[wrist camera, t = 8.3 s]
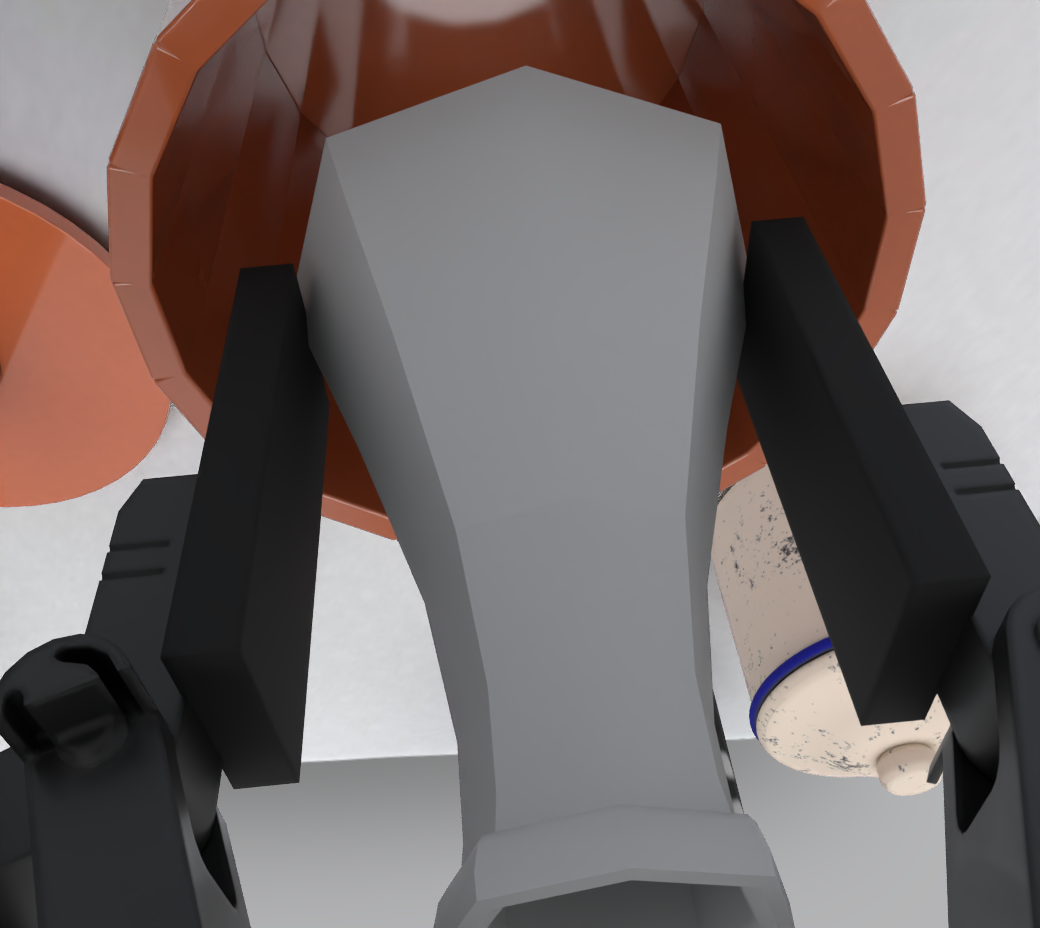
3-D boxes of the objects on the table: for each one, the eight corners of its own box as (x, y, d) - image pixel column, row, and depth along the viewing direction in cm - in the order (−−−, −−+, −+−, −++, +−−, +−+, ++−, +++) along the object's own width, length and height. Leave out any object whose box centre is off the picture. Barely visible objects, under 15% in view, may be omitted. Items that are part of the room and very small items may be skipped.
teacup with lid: (862, 590, 44) (966, 847, 36) (669, 576, 42) (733, 844, 34) (1011, 387, 36) (1189, 661, 28) (779, 359, 34) (897, 643, 26)
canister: (156, -302, 20) (-54, -103, 11) (753, -351, 20) (1036, -196, 11) (288, 223, 29) (234, 578, 20) (705, 186, 29) (842, 519, 20)
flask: (715, 436, 18) (904, 1032, 11) (324, 457, 18) (272, 1089, 11) (792, 47, 13) (1220, 697, 6) (247, 65, 13) (58, 781, 6)
